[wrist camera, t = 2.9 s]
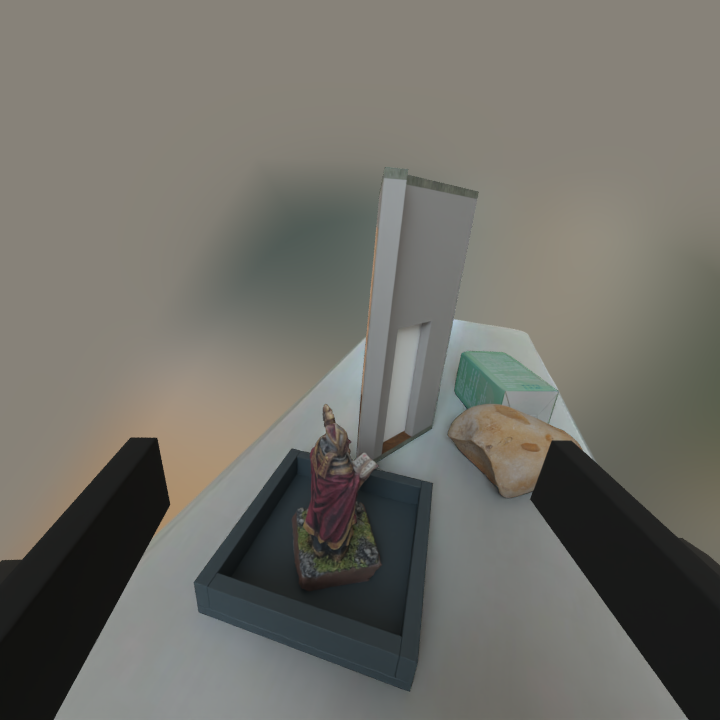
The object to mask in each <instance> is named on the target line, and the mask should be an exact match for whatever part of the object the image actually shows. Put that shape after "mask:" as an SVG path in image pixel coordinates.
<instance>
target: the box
mask: <svg viewBox="0 0 720 720" xmlns="http://www.w3.org/2000/svg"><path fill="white" fill-rule="evenodd" d="M455 393H456V395H457V396H458V397H459V399H460V400H461V401H462V402H463V404H464V405H465V406H466V408H467V409H469V408H471V407H473V406H477V405H482V404H500V405H505V406H508V407H511V408H514V409H516V410H519V411H521V412H523V413H525V414H528V415H530V416H532V417H535V418H537V419H539V420H541V421H543V422H545V423H547V424H549V421H550V418H551V415H552V412H553V408H554V405H555V402H556V399H557V396H558V393H559V391H558V390H556V389H555V388H553V387H552V386H551V385H549V384H548V383H547V382H545V381H544V380H543V379H541V378H540V377H539V376H537V375H536V374H534V373H533V372H532V371H530V370H529V369H528V368H526V367H525V366H524V365H522V364H521V363H520V362H518V361H517V360H515V359H514V358H512V357H511V356H509V355H507V354H506V353H503V352H486V351H466V352H463V353H462V354H461V358H460V363H459V368H458V372H457V378H456V383H455Z"/></svg>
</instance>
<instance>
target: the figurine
mask: <svg viewBox="0 0 720 720" xmlns="http://www.w3.org/2000/svg"><path fill="white" fill-rule="evenodd" d="M323 421H324V426H325V428H326V434H325V435H323V436H321V437H320V438H319V439H318V441H317V442H316V444H315V447H313V449H312V450H311V452H310V461H311V474H312V477H311V501H310V505H309V507H308V509H304V508H303V507H301V508H299V509H298V510H297V511H296V513H295V514H294V516H293V517H292V520H291V521H292V528H293V538H294V539H293V547H294V556H295V557H294V558H295V561H294V562H295V567H296V569H297V573H298V576H299V585H300V586H301V588H302V589H305V590H306V591H313V590H320V589H324V588H329V587H334V586H341V585H342V586H343V585H346V584H351V583H357V582H358V583H360V582H365V581H369V578H371V576H372V575H374V573H375V571H376V570H378V568H380V567H381V566H382V564H381V562H380V555H379V553H378V550H377V547H376V543H375V540H374V536H373V533H372V530H371V526H370V523H369V519H368V517H367V513H366V511H365V507H364V505H363V504H362V503H361V502H360V503H358V502H357V501H356V499H357V495H358V494H357V492H358V490H359V488H360V487H361V485H362V484H363V483H364V481H365V480H366V479H367V478H368V477H369V476H370V474H371V473H372V471H373V470H374V469H376V468H377V467H378V466H379V465H377V464H376V462H375V461H373V460H371V459H370V458H369V457H368V456H367V454H366V453H364V452H363V453H362V454H361V455H360V456H359V457H357V458H356V459H355V460H352V459H351V457H350V449H349V443H351V441H350V440H349V439H348V437H347V433H346V431H345V430H344V429H343V428H342V427H340V426H339V425H338V424H336V423H335V418H334V414H333V413H332V409H331V408H330V407H329V406H328V405H327V404H325V405H324V407H323Z"/></svg>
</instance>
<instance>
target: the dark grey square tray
mask: <svg viewBox="0 0 720 720" xmlns="http://www.w3.org/2000/svg"><path fill="white" fill-rule="evenodd" d="M311 477H312V474H311V461H310V453H308V452H304V451H300V450H296V449H291V450H290V452H289V453H288V454H287V456H286V457H285V458H284V460H283V461H282V463H281V464H280V465H279V467H278V468H277V469H276V471H275V472H274V473H273V475H272V476H271V478H270V479H269V480H268V482H267V483H266V484H265V486H264V487H263V489H262V490H261V491H260V493H259V494H258V495H257V497H256V498H255V499H254V501H253V502H252V504H251V505H250V506H249V508H248V509H247V510H246V512H245V513H244V514H243V516H242V517H241V519H240V520H239V521H238V523H237V524H236V525H235V527H234V528H233V530H232V531H231V532H230V534H229V535H228V536H227V538H226V539H225V540H224V542H223V543H222V545H221V546H220V547H219V549H218V550H217V551H216V553H215V554H214V555H213V557H212V558H211V560H210V561H209V562H208V564H207V565H206V566H205V568H204V569H203V571H202V572H201V573H200V575H199V576H198V577H197V579H196V580H195V581H194V587H195V593H196V598H197V604H198V611H199V612H200V613H203V614H205V615H208V616H211V617H213V618H216V619H219V620H221V621H224V622H226V623H229V624H232V625H234V626H237V627H240V628H242V629H245V630H248V631H250V632H253V633H256V634H258V635H261V636H263V637H266V638H269V639H271V640H274V641H277V642H279V643H282V644H285V645H287V646H290V647H293V648H295V649H298V650H300V651H303V652H306V653H308V654H311V655H314V656H316V657H319V658H322V659H324V660H327V661H330V662H332V663H335V664H338V665H340V666H343V667H345V668H348V669H351V670H353V671H356V672H359V673H361V674H364V675H367V676H369V677H372V678H375V679H377V680H380V681H382V682H385V683H388V684H390V685H393V686H396V687H398V688H401V689H404V690H406V691H409V692H410V689H411V686H412V682H413V678H414V675H415V671H416V667H417V663H418V653H419V642H420V630H421V618H422V606H423V594H424V582H425V570H426V558H427V546H428V534H429V522H430V510H431V498H432V486H433V483H430V482H426V481H421V480H418V479H414V478H410V477H405V476H401V475H397V474H393V473H389V472H385V471H381V470H377V469H374V470H373V471H372V473H371V474H370V476H369V477H368V478H367V479H366V480H365V481H364V483H363V484H362V485H361V487H360V488H359V490H358V492H357V494H358V495H357V499H356V501H357V502H358V503H360V502H361V503H362V504H363V505H364V507H365V511H366V513H367V517H368V519H369V523H370V526H371V530H372V533H373V536H374V540H375V543H376V547H377V550H378V553H379V555H380V562H381V564H382V566H381V567H380V568H378V570H376V571H375V573H374V575H372V576H371V578H369V581H365V582H360V583H358V582H357V583H351V584H346V585H343V586H342V585H341V586H334V587H329V588H324V589H320V590H313V591H306V590H305V589H302V588H301V586H300V585H299V576H298V573H297V569H296V567H295V562H294V561H295V558H294V557H295V556H294V547H293V539H294V538H293V528H292V521H291V520H292V517H293V516H294V514H295V513H296V511H297V510H298V509H299V508H301V507H303V508H304V509H308V507H309V505H310V501H311Z"/></svg>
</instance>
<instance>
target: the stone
mask: <svg viewBox="0 0 720 720" xmlns="http://www.w3.org/2000/svg"><path fill="white" fill-rule="evenodd" d="M448 437H449V438H451V439H452V440H453V442H454V443H455V445H456V446H457V448H458V449H459V450H460V451H461V452H462V453H463V454H464V455H465V456H466V457H467V458H468V459H469V460H470V461H471V462H473V463H474V464H475V465H476V466H477V467H478V468H479V469H480V470H481V471H482V472H483V473H484V474H485V475H486V476H487V477H488V479H489V480H490V481H491V482H492V483H493V484H495V485H496V486H497V487H498V488H499V493H500V494H501V495H502V496H503V497H505V498H512V497H517V496H520V495H523V494H525V493H529V492H532V491H533V490H534V488H535V485H536V482H537V479H538V477H539V474H540V471H541V468H542V466H543V463H544V460H545V457H546V455H547V452H548V449H549V446H550V444H551V441H552V440H572V441H573V442H574V443H575V444H576V445H577V446H578V447H579V448H580V449H581V450H582V448H581V446H580V445H579V444H578V442H577V441H576V440H575V439H573V438H572V437H571V436H570V435H569V434H567V433H566V432H565V431H563V430H561V429H558V428H555V427H553V426H551V425H549V424H547V423H545V422H543V421H541V420H539V419H537V418H535V417H532V416H530V415H528V414H525V413H523V412H521V411H519V410H516V409H514V408H511V407H508V406H505V405H500V404H482V405H477V406H473V407H471V408H469V409H467V410H465V411H464V412H463V413H462V414H460V415H459V416H458V417H457V418H456V419H455V420H454V421H453V422H452V424H451V426H450V428H449V431H448Z"/></svg>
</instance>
